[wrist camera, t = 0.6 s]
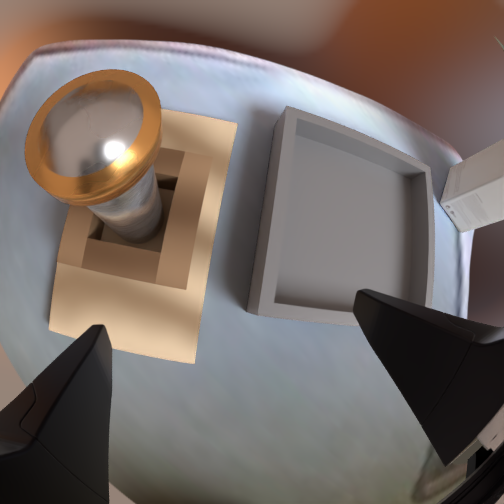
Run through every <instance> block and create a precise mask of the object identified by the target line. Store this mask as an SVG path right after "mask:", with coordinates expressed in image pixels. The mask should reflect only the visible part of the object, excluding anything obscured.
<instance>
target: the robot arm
mask: <svg viewBox="0 0 504 504" xmlns="http://www.w3.org/2000/svg"><path fill="white" fill-rule="evenodd" d="M353 314H354V316H355V318H356V320H357V322H358V323H359V325H360V327H361V329H362V331H363V333H364V335H365V337H366V339H367V340H368V342H369V344H370V346H371V347H372V349H373V350H374V352H375V353H376V355H377V356H378V358H379V359H380V361H381V362H382V364H383V365H384V367H385V369H386V370H387V372H388V373H389V375H390V376H391V378H392V379H393V381H394V382H395V384H396V386H397V387H398V389H399V390H400V392H401V394H402V395H403V397H404V398H405V400H406V402H407V403H408V405H409V406H410V408H411V410H412V411H413V413H414V415H415V416H416V418H417V419H418V421H419V423H420V424H421V425H422V428H423V430H424V431H425V433H426V435H427V437H428V438H429V440H430V442H431V443H432V445H433V447H434V449H435V450H436V452H437V454H438V456H439V457H440V459H441V461H442V463H443V464H444V466H445V467H446V466H448V465H449V464H450V463H451V462H452V461H454V460H455V459H456V458H457V457H458V456H459V455H461V454H462V453H463V452H464V451H465V450H467V449H468V448H469V447H470V446H471V445H472V444H473V443H474V442H475V441H476V440H478V441H479V442H480V443H481V445H482V447H481V448H480V449H479V450H478V451H476V452H475V453H474V454H473V456H471V457H470V458H469V459H468V464H467V474H466V480H465V481H463V482H462V483H461V484H460V485H459V486H458V487H457V488H455V489H454V490H453V491H452V492H451V493H449V494H448V495H447V496H446V497H445V498H443V499H442V500H441V501H439V502H438V503H437V504H504V327H496V326H491V325H487V324H483V323H479V322H475V321H471V320H467V319H464V318H460V317H457V316H453V315H450V314H447V313H443V312H440V311H437V310H434V309H431V308H428V307H425V306H421V305H418V304H415V303H412V302H409V301H405V300H402V299H399V298H396V297H393V296H390V295H386V294H383V293H380V292H377V291H374V290H371V289H361V290H358V291H357V292H356V295H355V300H354V305H353ZM111 397H112V345H111V341H110V339H109V336H108V333H107V330H106V327H105V325H103V324H94V325H92V326H91V327H89V328H88V329H87V330H86V331H85V332H84V333H83V334H82V335H81V336H80V337H78V338H77V339H76V340H75V341H74V342H73V343H72V344H71V345H70V346H69V347H68V348H67V349H66V350H64V351H63V352H62V353H61V354H60V355H59V356H58V357H57V358H56V359H55V360H54V361H53V362H52V363H51V364H50V365H49V366H48V367H47V368H46V369H45V370H44V371H42V372H41V373H40V374H39V375H38V376H37V377H36V378H35V379H34V380H33V383H30V384H29V385H28V386H27V387H26V388H25V389H24V390H23V391H22V392H21V393H20V394H19V395H18V396H17V397H16V398H15V399H14V400H13V401H12V402H10V404H8V405H7V406H6V407H5V408H4V409H2V411H0V504H109V481H108V448H109V424H110V409H111Z"/></svg>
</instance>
